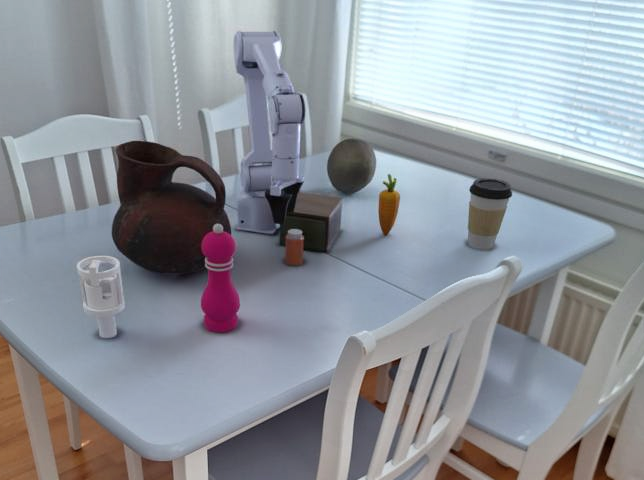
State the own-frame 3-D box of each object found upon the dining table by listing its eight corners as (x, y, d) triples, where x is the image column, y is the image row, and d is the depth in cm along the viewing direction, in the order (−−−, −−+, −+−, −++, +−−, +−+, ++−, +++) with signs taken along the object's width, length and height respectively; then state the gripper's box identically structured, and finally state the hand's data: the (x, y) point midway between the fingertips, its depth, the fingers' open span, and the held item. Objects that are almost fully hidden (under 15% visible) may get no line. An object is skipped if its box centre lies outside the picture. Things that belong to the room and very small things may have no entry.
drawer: (322, 252, 153) (323, 224, 149) (278, 245, 155) (279, 217, 152) (335, 230, 164) (337, 204, 161) (295, 224, 166) (296, 198, 163)
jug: (200, 300, 134) (193, 177, 120) (93, 276, 140) (75, 157, 127) (251, 253, 153) (250, 142, 140) (155, 234, 160) (145, 127, 146)
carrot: (394, 240, 163) (401, 180, 155) (374, 238, 164) (380, 177, 155) (396, 233, 167) (403, 173, 159) (376, 230, 168) (382, 171, 159)
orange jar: (282, 263, 149) (283, 233, 145) (288, 256, 153) (288, 227, 149) (299, 266, 148) (301, 236, 145) (304, 259, 152) (306, 229, 148)
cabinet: (326, 252, 156) (329, 217, 151) (279, 245, 158) (280, 210, 153) (340, 231, 167) (342, 197, 162) (295, 224, 169) (296, 191, 164)
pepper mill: (202, 315, 129) (197, 216, 118) (240, 314, 129) (238, 216, 118) (200, 334, 123) (195, 232, 112) (240, 334, 123) (238, 232, 112)
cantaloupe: (315, 194, 189) (317, 140, 180) (341, 181, 198) (345, 130, 190) (358, 205, 182) (362, 150, 174) (383, 192, 192) (389, 139, 184)
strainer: (83, 343, 119) (70, 266, 110) (93, 323, 124) (82, 248, 116) (123, 344, 119) (113, 267, 110) (131, 324, 125) (123, 250, 116)
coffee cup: (504, 241, 165) (517, 181, 157) (496, 255, 158) (509, 194, 149) (465, 233, 168) (475, 174, 160) (455, 247, 161) (466, 186, 153)
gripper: (294, 167, 132) (292, 231, 140) (313, 148, 144) (310, 208, 152) (260, 163, 134) (260, 227, 141) (281, 144, 146) (280, 204, 153)
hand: (284, 217), depth 147 cm, fingers open, 7 cm apart
